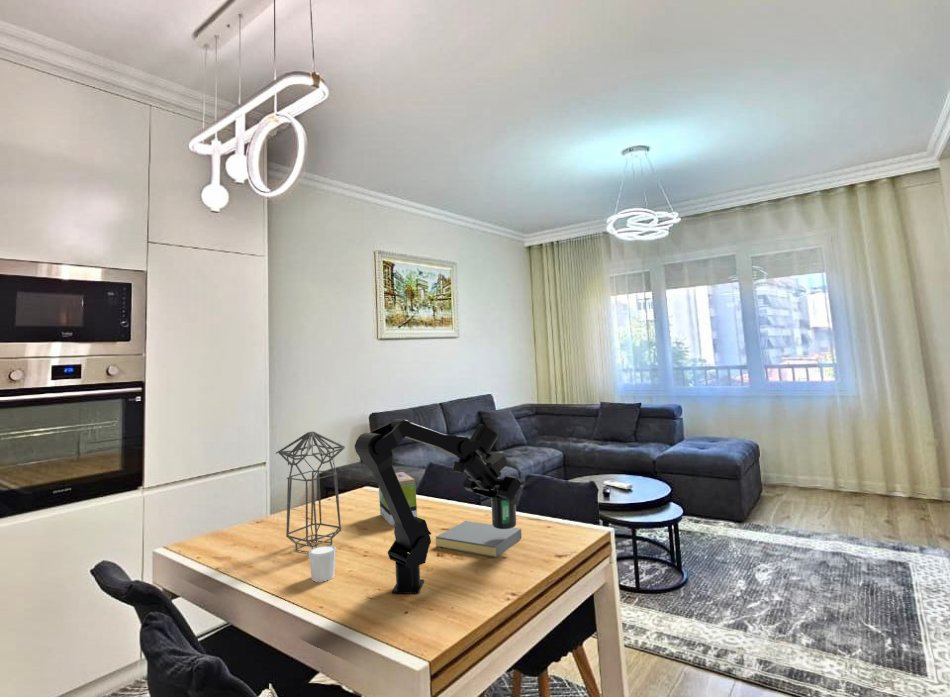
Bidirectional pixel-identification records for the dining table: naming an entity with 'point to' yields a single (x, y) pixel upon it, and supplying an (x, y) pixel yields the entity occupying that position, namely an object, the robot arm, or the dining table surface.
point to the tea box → (410, 494)
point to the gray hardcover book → (478, 538)
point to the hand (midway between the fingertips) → (506, 501)
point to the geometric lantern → (297, 448)
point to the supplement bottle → (502, 512)
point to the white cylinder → (322, 563)
